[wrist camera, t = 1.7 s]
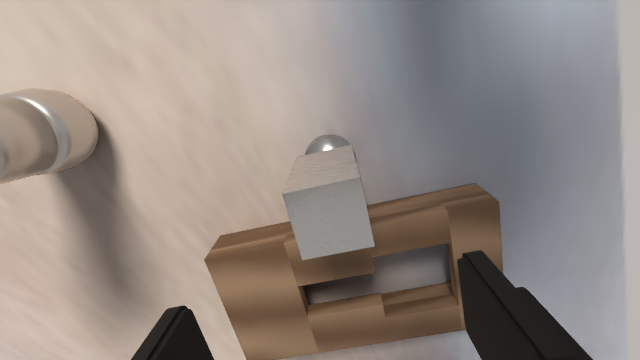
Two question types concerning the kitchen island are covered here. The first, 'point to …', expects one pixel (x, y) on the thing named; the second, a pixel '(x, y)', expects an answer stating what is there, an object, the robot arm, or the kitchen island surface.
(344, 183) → the steel peg
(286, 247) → the keyhole plate
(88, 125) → the plastic bottle
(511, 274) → the kitchen island surface
